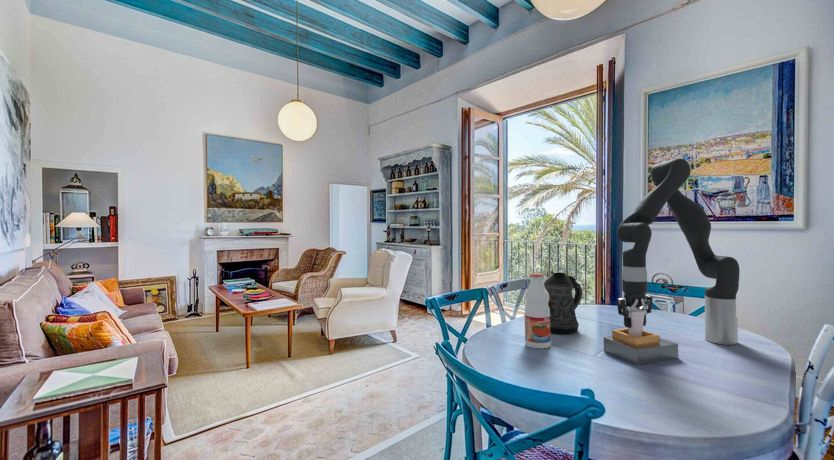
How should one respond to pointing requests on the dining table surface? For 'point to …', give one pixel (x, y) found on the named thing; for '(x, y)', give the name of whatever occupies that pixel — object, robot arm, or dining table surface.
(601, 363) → the dining table surface
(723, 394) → the dining table surface
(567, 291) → the beer stein
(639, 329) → the smoothie
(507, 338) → the dining table surface
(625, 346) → the grey flat boxy piece
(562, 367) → the dining table surface
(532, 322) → the fruit juice
